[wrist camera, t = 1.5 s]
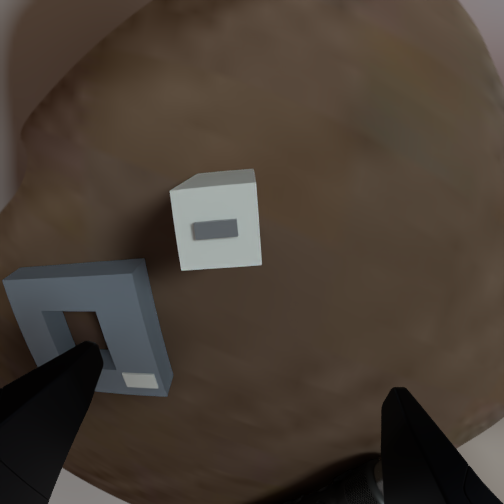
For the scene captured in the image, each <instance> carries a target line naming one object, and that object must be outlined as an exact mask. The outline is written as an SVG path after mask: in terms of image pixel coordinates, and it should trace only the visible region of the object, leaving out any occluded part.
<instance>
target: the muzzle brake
mask: <svg viewBox="0 0 504 504" xmlns="http://www.w3.org/2000/svg"><path fill="white" fill-rule="evenodd" d="M282 504H384V494H383V476H382V462H381V459H380V460H379V459H375V460H370V461H368V462H367V463H365V464H363V465H361V466H360V467H358V468H356V469H354V470H352V469H351V470H349V471H347V472H345V473H343V474H342V475H340V476H338V477H336V478H334V480H333V483H332V484H330V485H328V486H326V487H324V488H322V489H320V490H318V491H315V492H313V493H311V494H309V495H304V494H303V495H301V497H300V498H297V499H295V500H290V501H287V502H285V503H282Z"/></svg>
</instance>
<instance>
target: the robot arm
mask: <svg viewBox="0 0 504 504" xmlns="http://www.w3.org/2000/svg"><path fill="white" fill-rule="evenodd" d="M103 365H104V362H103V358H102V355H101V352H100V349H99V346H98V345H97V344H96V343H94V342H91V341H84V342H82V343H80V344H78V345H77V346H75V347H73V348H71V349H69V350H68V351H66V352H64V353H62V354H61V355H59V356H57V357H55V358H53V359H52V360H50V361H48V362H46V363H45V364H43V365H41V366H39V367H38V368H36V369H34V370H32V371H31V372H29V373H27V374H25V375H23V376H22V377H20V378H18V379H16V380H15V381H13V382H11V383H9V384H8V385H6V386H4V387H3V389H2V388H0V504H48V502H49V499H50V497H51V494H52V491H53V489H54V486H55V484H56V481H57V479H58V476H59V474H60V471H61V469H62V466H63V464H64V462H65V459H66V457H67V455H68V452H69V450H70V448H71V445H72V443H73V441H74V439H75V436H76V434H77V432H78V430H79V427H80V425H81V423H82V421H83V419H84V417H85V414H86V412H87V410H88V408H89V406H90V403H91V400H92V397H93V394H94V392H95V389H96V386H97V383H98V380H99V377H100V375H101V372H102V369H103ZM381 462H382V476H383V494H384V504H503V503H502V502H501V501H500V500H499V499H498V498H497V497H496V496H495V495H494V494H493V493H492V492H491V491H490V489H489V488H488V487H487V486H486V485H485V484H484V483H483V482H482V481H481V479H480V478H479V477H478V476H477V474H476V473H475V472H474V471H473V469H472V468H471V467H470V466H468V464H467V462H466V461H465V459H464V458H463V457H462V456H461V454H460V453H459V452H458V451H457V449H456V448H455V447H454V446H453V444H452V443H451V442H450V441H449V439H448V438H447V437H446V436H445V434H444V433H443V432H442V431H441V430H440V428H439V427H438V426H437V425H436V423H435V422H434V421H433V420H432V418H431V417H430V416H429V415H428V414H427V412H426V411H425V410H424V409H423V408H422V406H421V405H420V404H419V403H418V402H417V400H416V399H415V398H414V397H413V396H412V394H411V393H410V392H409V391H408V390H407V389H406V388H405V387H393V388H392V389H391V390H390V392H389V394H388V396H387V397H386V399H385V401H384V402H383V405H382V410H381Z"/></svg>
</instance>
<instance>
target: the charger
mask: <svg viewBox="0 0 504 504" xmlns="http://www.w3.org/2000/svg"><path fill="white" fill-rule="evenodd" d="M170 198H171V205H172V213H173V220H174V227H175V234H176V240H177V247H178V253H179V259H180V266H181V271H183V270H198V269H213V268H228V267H242V266H255V265H262V259H261V245H260V230H259V217H258V203H257V189H256V180H255V174H254V169H243V170H231V171H220V172H210V173H200V174H196V175H194V176H193V177H191V178H189V179H188V180H186V181H185V182H183V183H181V184H180V185H178V186H177V187H175V188H173V189H172V190H170Z"/></svg>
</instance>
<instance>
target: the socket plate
mask: <svg viewBox="0 0 504 504" xmlns="http://www.w3.org/2000/svg"><path fill="white" fill-rule="evenodd" d="M2 281H3V284H4V287H5V290H6V293H7V296H8V299H9V301H10V304H11V307H12V310H13V312H14V315H15V317H16V320H17V322H18V325H19V327H20V329H21V332H22V334H23V336H24V339H25V341H26V343H27V345H28V348H29V350H30V352H31V354H32V356H33V358H34V360H35V362H36V364H37V366H38V367H39V366H41V365H43V364H45V363H46V362H48V361H50V360H52V359H53V358H55V357H57V356H59V355H61V354H62V353H64V352H66V351H68V350H69V349H71V348H73V347H75V343H74V341H73V338H72V336H71V333H70V331H69V328H68V325H67V323H66V320H65V317H64V314H63V311H96V314H97V317H98V320H99V323H100V326H101V329H102V332H103V335H104V338H105V340H106V343H107V346H108V349H109V350H103V349H100V352H101V355H102V358H103V362H104V365H103V369H102V372H101V375H100V377H99V380H98V383H97V386H96V389H95V391H98V392H107V393H118V394H130V395H144V396H165V397H167V396H168V392H169V389H170V385H171V381H172V378H173V372H172V369H171V365H170V362H169V359H168V355H167V351H166V348H165V344H164V340H163V337H162V333H161V329H160V325H159V321H158V317H157V313H156V309H155V304H154V300H153V296H152V291H151V287H150V282H149V278H148V273H147V268H146V263H145V258H141V259H128V260H115V261H102V262H88V263H75V264H62V265H49V266H36V267H23V268H19V269H17V270H16V271H15V272H13V273H12V274H10V275H9V276H8V277H6V278H5V279H3V280H2Z"/></svg>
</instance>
